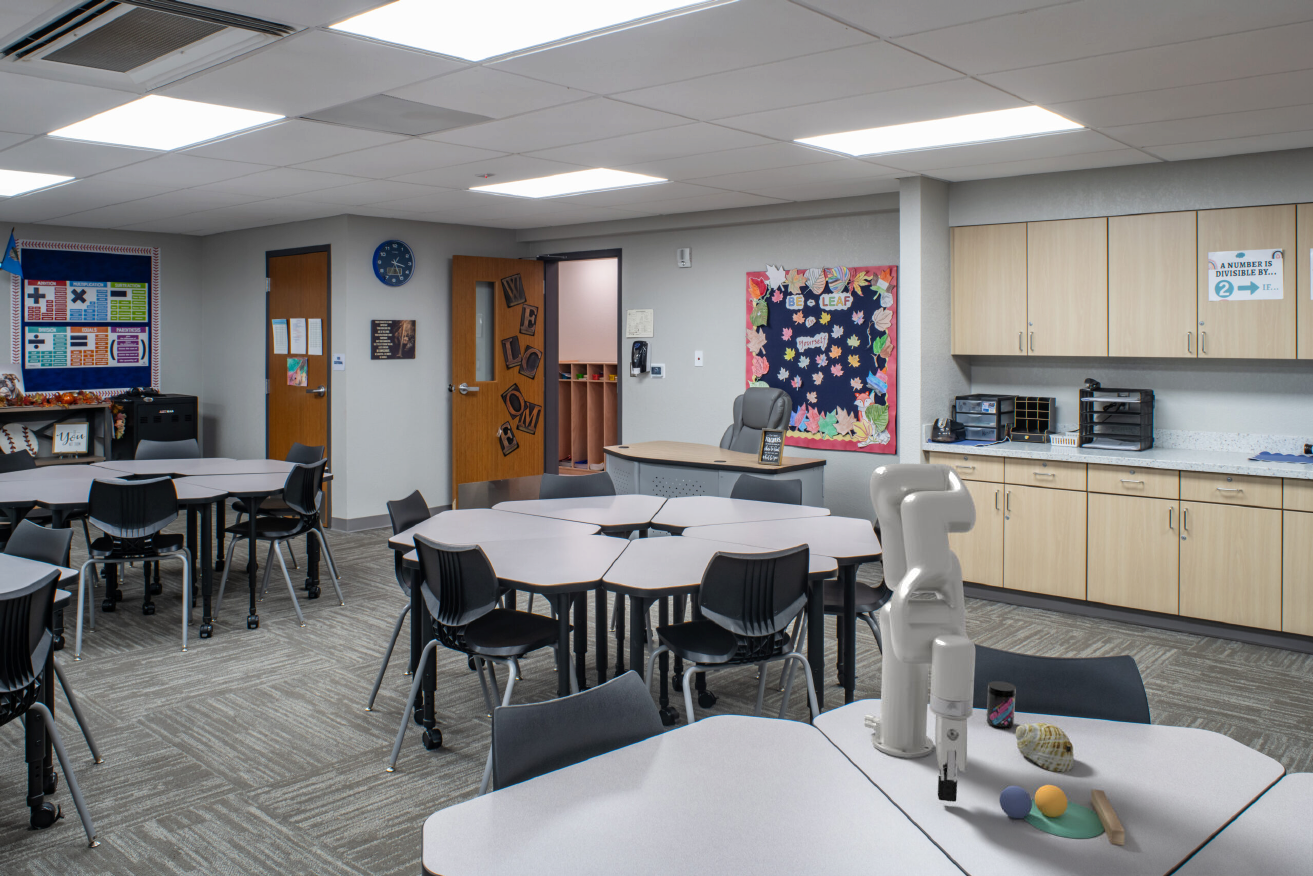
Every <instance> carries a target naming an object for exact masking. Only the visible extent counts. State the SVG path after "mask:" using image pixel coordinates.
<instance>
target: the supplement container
mask: <svg viewBox="0 0 1313 876" xmlns="http://www.w3.org/2000/svg"><path fill="white" fill-rule="evenodd" d="M1016 689H1017V687H1016V686H1015V685H1014V684H1012V683H1010V682H1007V681H999V680H998V681H995V680H994V681H990V682H988V683H987V703H986V704H987V705H986V722H987V724H988V726H990V727H992V728H993V729H998V730H1010V729H1011V728H1013V727H1014V725H1015V707H1016V695H1017V693H1016V691H1017V690H1016Z"/></svg>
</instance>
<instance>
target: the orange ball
mask: <svg viewBox="0 0 1313 876" xmlns="http://www.w3.org/2000/svg"><path fill="white" fill-rule="evenodd" d="M1034 799H1035V804H1036V806H1037V808H1038V810H1039V811H1040V812H1041V813H1042V814H1044V815H1046V816H1048V817H1058V816H1061V815H1062V814H1063V813H1064V812H1065V811H1066V809H1067V804H1068V803H1067V801H1068V798H1067V796H1066V794H1065V792H1064V791H1063V790H1062V788H1060V787H1058V786H1055V785H1052V784H1045V785H1042V786H1040V787H1039V788H1038V789H1037V790H1036V792H1035V794H1034Z"/></svg>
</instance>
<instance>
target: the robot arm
mask: <svg viewBox="0 0 1313 876" xmlns="http://www.w3.org/2000/svg"><path fill="white" fill-rule="evenodd" d="M869 485H870V486H869V490H870V493H869V494H870V499H871V503H872V506H873V509H874V510H873V511H874V512H875V515H876V518H877V521H878V525H879V528H880V529H879V530H880V538H881V553H882V567H883V569H882V570H883V577H884V582H885V585H886V586H887V588H888V589H889V590H891V591H893V594H892V597H891V600H890V601H888V602H886V603H885V604H884V605H883V606H882V607H881V608H880V610H879V621H878V622H879V629H880V635H881V636H880V637H881V638H880V639H881V644H882V645H881V649H882V659H881V661H882V662H881V663H882V664H881V665H882V666H881V691H880V692H881V693H880V695H881V697H880V717H876V716H875V715H871V714H866V715H865V717H864V727H865V728H868V729H872V730H873V731H874V733H873V735H872V737H871V742H872V745H873V746H874V747H875V748H876V749H877V750H879V751H880V752H883V753H884V754H887V755H891V756H894V757H899V758H906V759H907V758H908V759H910V758H922V757H925V756H927V755H929V754H931V753H932V752H933V751H934V745H935V753H936V760H937V764H938V768H939V775H938V776H937V777H938V778H937V783H938V785H937V798H938V800H940V801H945V802H953V803H954V802H956V801H957V798H958V797H957V796H958V795H957V794H958V793H957V792H958V769H959V771H960V772H962V773H966V771H967V769H968V768H967V767H968V766H967V765H968V764H967V763H968V761H967V758H968V719H969V718H971V717H972V716H973V710H974V709H973V707H974V686H975V667H976V646H975V643H974V641H972V639H970V638H969V635H968V633H967V632H966V629H967V627H966V626H967V623H966V621H967V620H966V608H965V607H966V606H965V596H964V595H965V594H964V585H963V573H962V566H961V563H960V560H959V558H958V556H957V554H956V553H955V552H954V551H953V550H952V549H950V548H951V547H950V541H949V534H955V533H956V534H962V533H963V534H964V533H965V534H967V533H969V532H971V531H972V530H973V529H974V527H975V525H976V520H977V512H976V506H975V503H974V499H973V497H972V495H971V493H970V491H969V489H968V487H967V486H966V484H965V483H964V481H963V479H962V478H961V476H960V475H959V473H958V472H957V470H956V469H955V468H954V467H953V466H951V465H949V464H944V463H891V464H885V465H881V466H879V467H877V468H876V469H875V470H873V472H872V474H871V477H870V483H869ZM913 593H914V594H916V593H917V594H919V593H921V594H922V593H924V594H925V593H934V594H935V595H936V597H937V598H928V599H927V598H925V599H924V598H911V596H912V594H913ZM929 665H931V667H930V668H931V670H929V669H930V668H929ZM930 671H931V672H930ZM929 673H930V674H929ZM929 677H930V681H929ZM929 682H930V694H929ZM929 695H930V696H929ZM928 699H929V701H928ZM928 702H929V703H928ZM928 704H929V711H930V712H931V713H932V714H934V715H935V729H934V730H935V733H934V734H935V736H934V737H935V738H934V741H935V742H934V741H933V740H932V739H931V738H930V736H928V735H927V730H928V729H927V726H928ZM934 743H935V744H934Z"/></svg>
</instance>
